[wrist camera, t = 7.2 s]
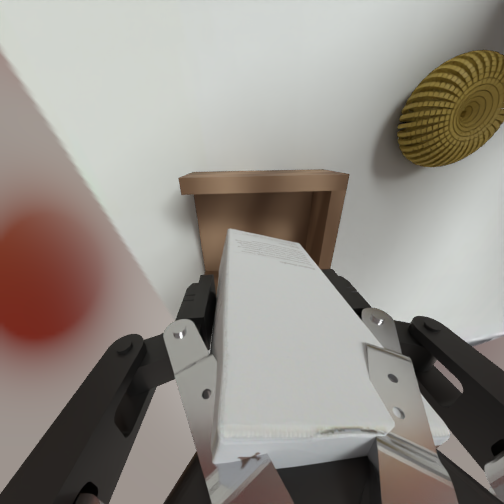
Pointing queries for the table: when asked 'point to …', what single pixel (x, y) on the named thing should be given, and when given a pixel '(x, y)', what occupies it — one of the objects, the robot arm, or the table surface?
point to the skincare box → (291, 362)
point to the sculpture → (454, 109)
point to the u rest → (268, 209)
